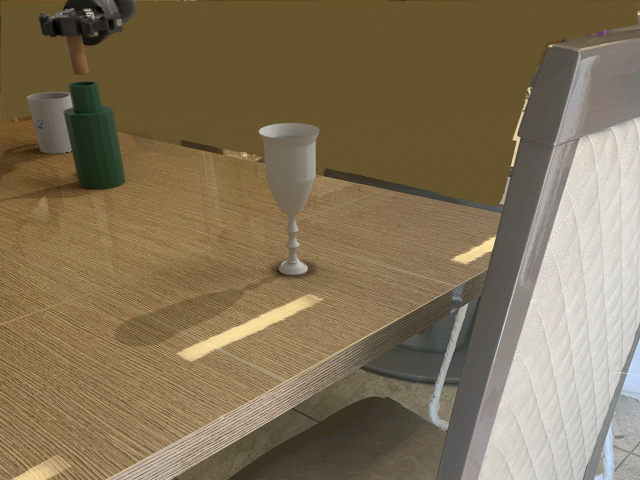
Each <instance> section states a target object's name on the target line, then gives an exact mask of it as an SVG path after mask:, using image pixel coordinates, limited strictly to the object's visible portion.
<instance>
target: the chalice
mask: <svg viewBox="0 0 640 480" xmlns="http://www.w3.org/2000/svg"><path fill="white" fill-rule="evenodd" d="M320 130H321V129H320V128H319V127H318V126H316V125H312V124H308V123H300V122H283V123H282V122H281V123H274V124H270V125H266V126H263V127H260V128H259V130H258V133H259V135H260V137H261V139H262V141H263V151H264V152H263V156H264V173H265V174H264V175H265V179H266V182H267V185H268V188H269V191H270V193H271V195H272V197H273V199H274V201H275V203H276V205H277V207H278V208H279V211H280V213H282V214H285V215H286V216H287V220H288V221H287V227H286V229H285V231H286V233H287V236H288V239H287V242H286V243H285V247H287V249H288V253H289V255H288V258H287V259H286V260H285V261H283V262H281V264H280V265H279V266H278V270H279V273H281V275H282V274H283V275H285V276H299V275H304V274H305V273H307V271H309V270H308V269H309V267H308V266H307V264H306V263H305V262H304V261H302V260H300V259H299V258H298V255H297V251H298V248H299V246H300V242H298V239H297V234H298V232H299V228H298V226H297V221H296V218H297V215H299V214H300V213H302V212H303V211H304V209H305V206H306V204H307V203H308V199H309V197H310V195H311V192H312V190H313V186H314V182H315V179H316V175H317V171H316V170H317V164H316V162H317V161H316V160H317V159H316V157H317V156H316V154H317V152H316V151H317V149H316V147H317V145H316V142H317V141H316V140H317V138H318V136H319V133H320Z"/></svg>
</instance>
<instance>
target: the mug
mask: <svg viewBox="0 0 640 480" xmlns="http://www.w3.org/2000/svg"><path fill="white" fill-rule="evenodd" d="M26 100H27V104H28V108H29V111H30V115H31V120H32V123H33V127H34V131H35V135H36V138H37V143H38V147H39V151H40V152H41V153H44V154H50V155H51V154H52V155H53V154H54V155H55V154H56V155H57V154H58V153H59V154H67V153H66V152H69V153H72V152H71V151H72V149H71V145H70V140H69V136H68V131H67V127H66V122H65V118H64V113H63V111H64V110H66V109H69V108H73V106H72V101H71V96H70V92H65V91H46V92H45V91H44V92H39V93H33V94H30V95H28V96H26Z"/></svg>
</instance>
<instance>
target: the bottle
mask: <svg viewBox="0 0 640 480" xmlns="http://www.w3.org/2000/svg"><path fill="white" fill-rule="evenodd" d="M67 86H68V91H69V92H68V93H70V96H71V101H72V106H73V108H69V109H66V110H64V111H63V113H64V118H65V122H66V127H67V131H68V136H69V140H70V145H71V149H72V152H71V153H72V158H73V162H74V166H75V170H76V171H75V172H76V176H77V180H78V182H79V183H78V184H79V186H80V187H81V188H83V189H88V190H106V189H113V188H116V187H119V186H122V185H123V184H125V182H126V174H125V169H124V168H125V167H124V162H123V158H122V153H121V147H120V141H119V135H118V130H117V124H116V118H115V113H114V108H113V107H112V106H108V105H103V104H102V99H101V93H100V88H99V83H98V82H96V81H86V80H85V81H75V82H70V83H68V84H67Z"/></svg>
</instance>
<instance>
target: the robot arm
mask: <svg viewBox="0 0 640 480" xmlns="http://www.w3.org/2000/svg"><path fill="white" fill-rule="evenodd" d="M136 12H137V5H136V1H135V0H66V1H65V4H64V5H63V8H62V11H56V12H55V14H54V15H51V16H50V14H46V13H43V12H40V13H39V14H37V17H38V22H39V26H40V30H41V35H42V36H45V37H48V36H49V37H50V38H56V37H59V35H58V34H57V30H56V25H55V21H54V16H58V15H84V17H85V19H83V20H81V28H82V33H83V35H82V40H83V45H84V46H87V47H92V46H93V47H94V46H97V45H99V44H101V43H102V42H104V41H105V40H108V39H109V38H111V37H112V36H113V35H114V34H115V33H121V32H123V31H124V26H125V25H126V24H127V23H128V22H129V21H130V20H132V19H133V17H134V16H135V15H136ZM60 37H61V38H65V36H60Z"/></svg>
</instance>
